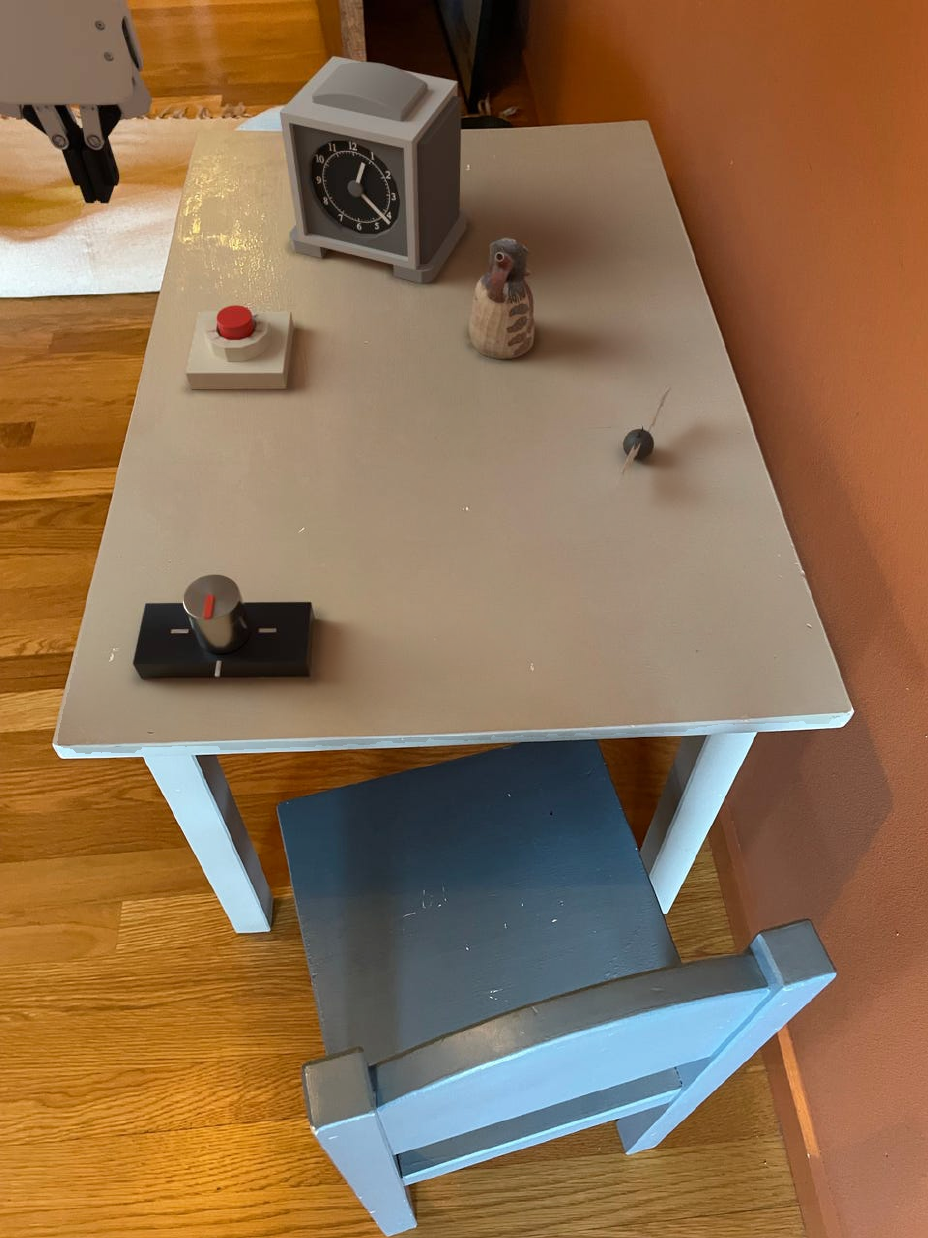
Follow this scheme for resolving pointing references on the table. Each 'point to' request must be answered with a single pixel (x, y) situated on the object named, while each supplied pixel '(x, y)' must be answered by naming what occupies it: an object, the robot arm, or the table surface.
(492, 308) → the figurine
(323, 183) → the alarm clock
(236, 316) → the power button
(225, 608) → the knob
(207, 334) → the switch box
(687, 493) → the table surface
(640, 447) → the bat toy
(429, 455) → the table surface
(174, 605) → the panel
